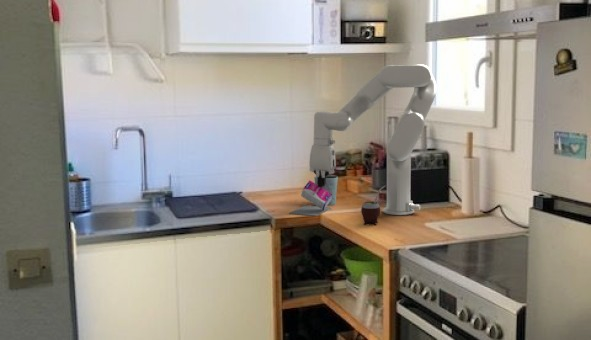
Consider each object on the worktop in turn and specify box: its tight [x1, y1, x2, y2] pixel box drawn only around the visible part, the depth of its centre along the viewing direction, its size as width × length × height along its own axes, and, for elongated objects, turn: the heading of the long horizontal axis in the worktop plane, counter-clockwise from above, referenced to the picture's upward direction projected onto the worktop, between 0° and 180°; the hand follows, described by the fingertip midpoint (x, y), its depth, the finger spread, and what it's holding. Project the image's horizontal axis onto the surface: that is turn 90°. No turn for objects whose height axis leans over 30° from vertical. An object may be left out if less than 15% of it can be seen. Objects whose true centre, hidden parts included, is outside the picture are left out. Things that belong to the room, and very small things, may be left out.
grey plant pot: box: [313, 174, 339, 207], centre depth 281 cm, size 10×10×12 cm
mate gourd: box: [360, 184, 387, 226], centre depth 244 cm, size 8×8×15 cm
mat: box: [288, 205, 332, 217], centre depth 268 cm, size 12×15×1 cm
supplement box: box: [300, 180, 332, 210], centre depth 267 cm, size 6×6×12 cm
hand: (321, 186), depth 266 cm, fingers closed
